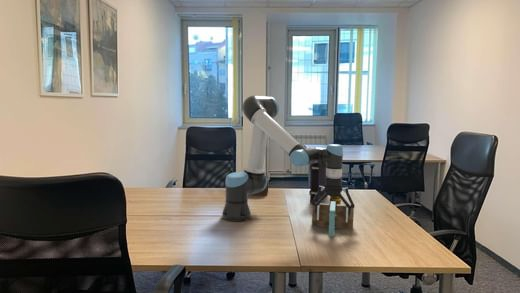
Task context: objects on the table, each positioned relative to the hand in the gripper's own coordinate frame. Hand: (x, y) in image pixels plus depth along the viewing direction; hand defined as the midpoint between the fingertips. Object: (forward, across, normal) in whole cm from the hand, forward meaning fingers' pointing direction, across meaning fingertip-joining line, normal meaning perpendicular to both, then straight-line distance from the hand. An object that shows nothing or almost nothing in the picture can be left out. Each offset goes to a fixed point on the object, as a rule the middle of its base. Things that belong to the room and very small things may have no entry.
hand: (332, 220), depth 184 cm
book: (+5, -10, +61) cm, 62 cm away
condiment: (+5, 0, +26) cm, 26 cm away
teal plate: (+4, 0, 0) cm, 4 cm away
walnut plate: (+5, 0, +6) cm, 8 cm away
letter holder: (+5, -54, +65) cm, 85 cm away
